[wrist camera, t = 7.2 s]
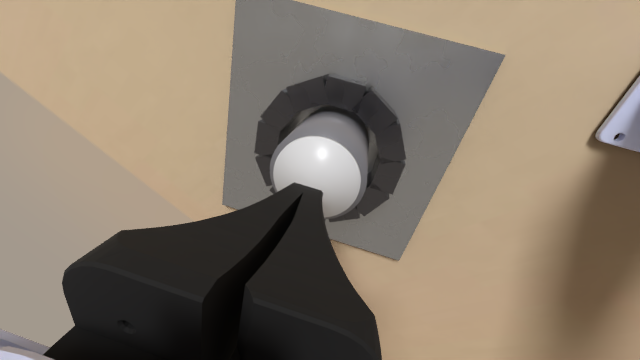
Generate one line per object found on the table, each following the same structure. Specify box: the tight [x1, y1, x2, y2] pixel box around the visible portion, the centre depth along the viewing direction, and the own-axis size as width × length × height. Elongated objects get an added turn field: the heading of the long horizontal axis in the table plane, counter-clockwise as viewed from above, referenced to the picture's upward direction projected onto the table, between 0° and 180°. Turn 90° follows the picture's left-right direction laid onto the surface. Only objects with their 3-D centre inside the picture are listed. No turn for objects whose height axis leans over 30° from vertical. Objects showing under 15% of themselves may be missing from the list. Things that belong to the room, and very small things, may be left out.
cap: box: [270, 106, 369, 219], centre depth 15 cm, size 5×5×6 cm
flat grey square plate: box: [222, 0, 505, 261], centre depth 18 cm, size 16×16×3 cm
